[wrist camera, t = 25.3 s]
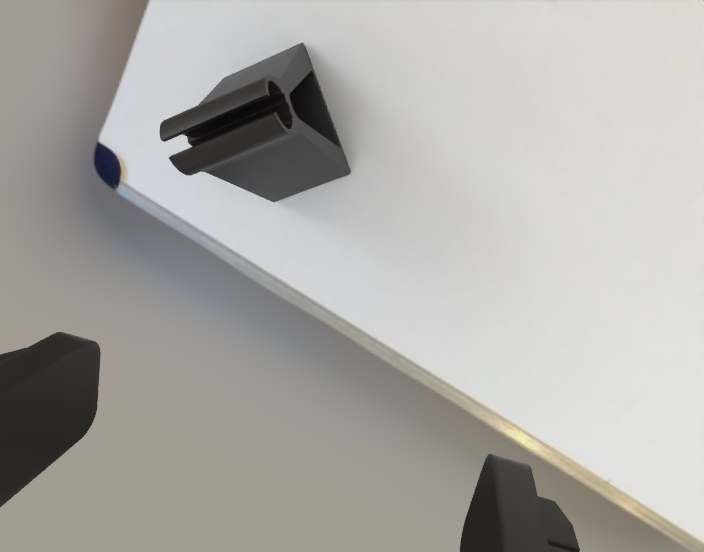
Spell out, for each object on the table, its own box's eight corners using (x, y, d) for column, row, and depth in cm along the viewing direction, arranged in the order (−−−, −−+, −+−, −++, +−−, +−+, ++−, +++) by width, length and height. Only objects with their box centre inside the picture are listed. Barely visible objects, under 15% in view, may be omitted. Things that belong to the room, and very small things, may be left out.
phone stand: (226, 77, 37) (125, 57, 25) (305, 43, 35) (234, 5, 24) (274, 201, 39) (200, 234, 27) (351, 173, 37) (306, 196, 26)
